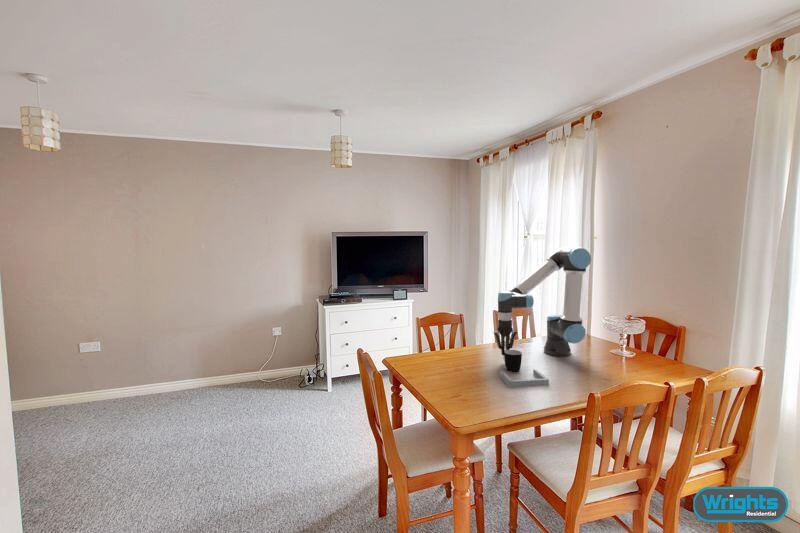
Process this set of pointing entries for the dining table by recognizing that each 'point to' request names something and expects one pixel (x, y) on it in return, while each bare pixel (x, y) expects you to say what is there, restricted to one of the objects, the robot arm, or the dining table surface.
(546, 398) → the dining table surface
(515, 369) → the mug
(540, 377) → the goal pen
